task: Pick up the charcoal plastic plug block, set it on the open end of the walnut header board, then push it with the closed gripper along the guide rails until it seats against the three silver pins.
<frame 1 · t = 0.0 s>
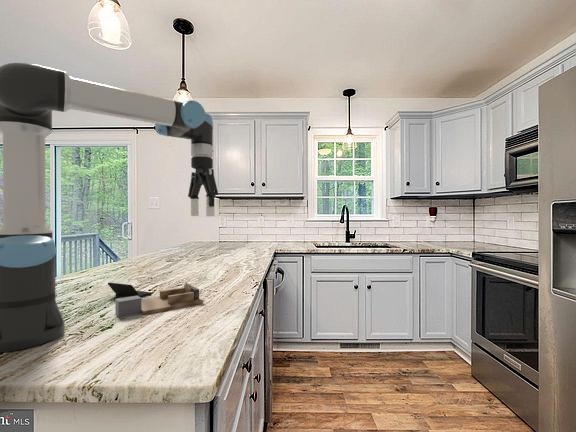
hand: (202, 216, 114), 28 cm above the counter, fingers open, 13 cm apart
black angled piece: (130, 297, 110), on the counter
plug block: (128, 314, 91), on the counter
header board: (167, 303, 101), on the counter
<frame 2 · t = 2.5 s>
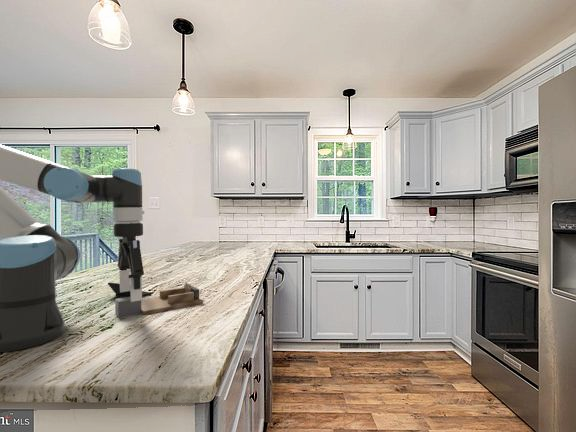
hand: (130, 296, 91), 5 cm above the counter, fingers open, 13 cm apart
nothing on the counter moved.
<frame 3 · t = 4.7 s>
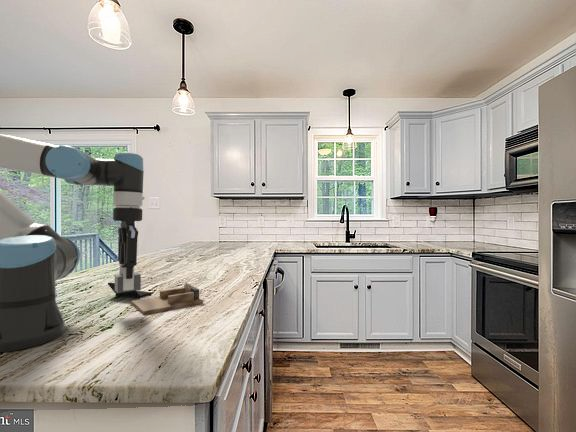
hand: (126, 288, 91), 7 cm above the counter, fingers closed on plug block, 4 cm apart
plug block: (127, 290, 91), point 7 cm above the counter, touching gripper
everything else where it was.
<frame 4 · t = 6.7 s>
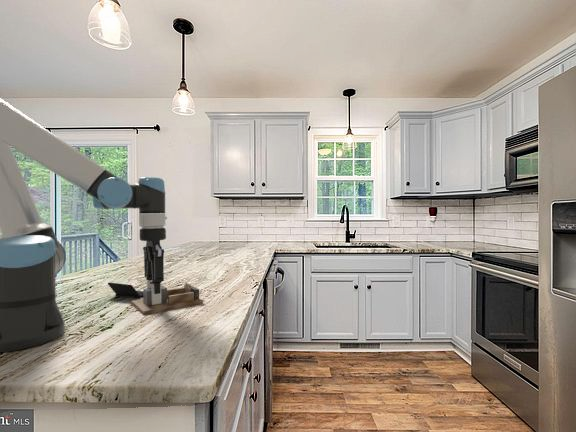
hand: (154, 302, 98), 1 cm above the counter, fingers closed on header board, plug block, 4 cm apart
plug block: (155, 302, 98), point 1 cm above the counter, touching gripper, header board
everything else where it was.
when the fingers open (1 cm above the counter, at t = 7.9 s): plug block stays where it is, resting on header board.
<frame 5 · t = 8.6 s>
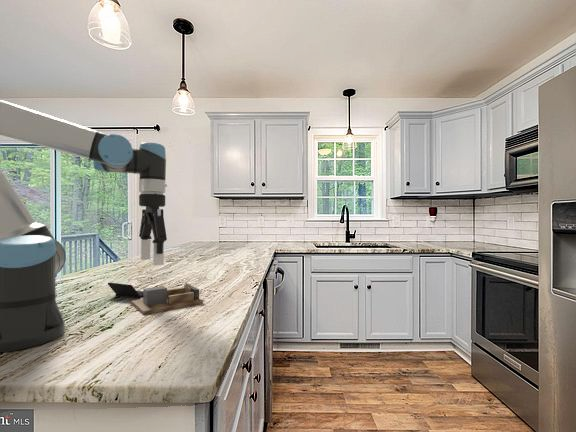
hand: (151, 262, 98), 14 cm above the counter, fingers open, 13 cm apart
plug block: (155, 302, 98), point 1 cm above the counter, touching header board
everything else where it was.
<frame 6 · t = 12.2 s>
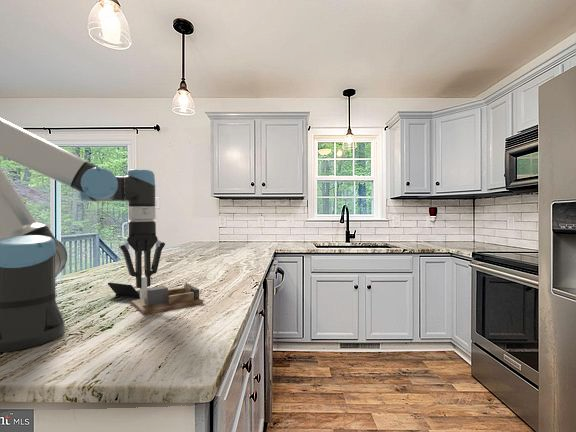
hand: (143, 297, 96), 3 cm above the counter, fingers closed
plug block: (156, 302, 98), point 1 cm above the counter, touching gripper
everything else where it was.
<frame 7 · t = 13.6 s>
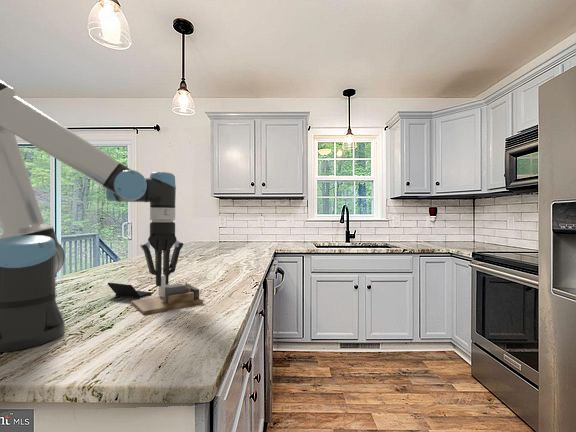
hand: (162, 295, 100), 3 cm above the counter, fingers closed
plug block: (173, 299, 102), point 1 cm above the counter, touching gripper, header board
everything else where it was.
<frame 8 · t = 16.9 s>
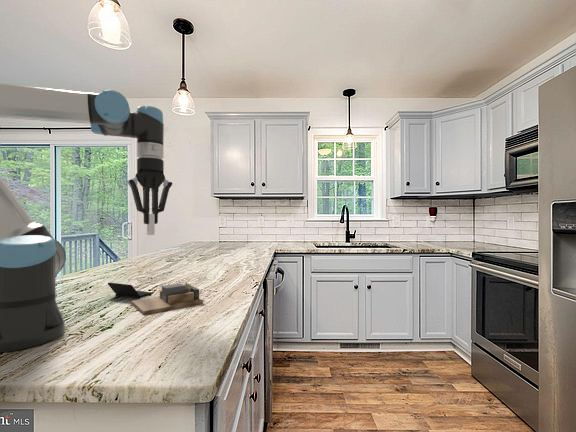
hand: (150, 234, 97), 22 cm above the counter, fingers closed
plug block: (173, 299, 102), point 1 cm above the counter, touching header board
everything else where it was.
at the end: plug block 1.6 cm from the target spot on the header board, point 1.0 cm above the header board's base; plug block tilted 0°; the gripper is holding nothing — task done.
